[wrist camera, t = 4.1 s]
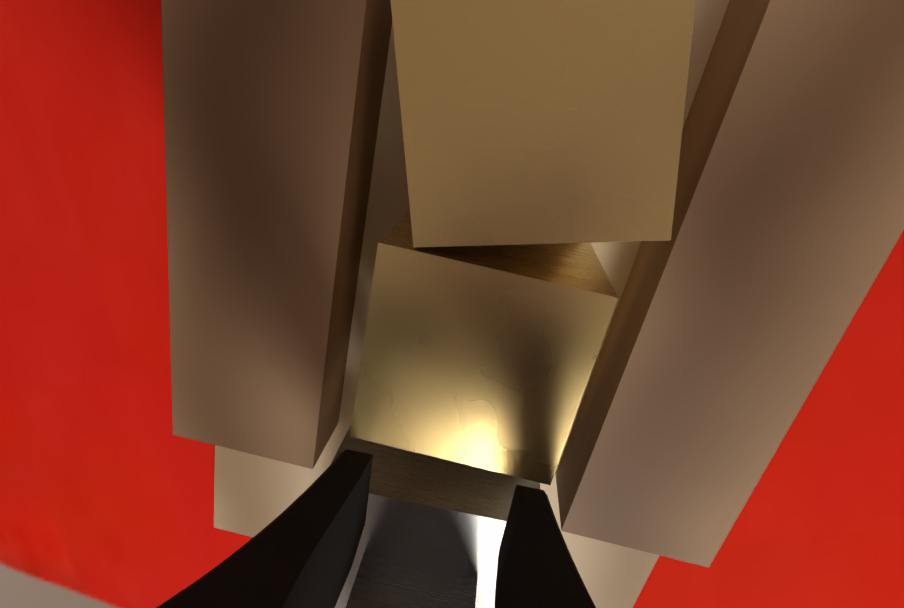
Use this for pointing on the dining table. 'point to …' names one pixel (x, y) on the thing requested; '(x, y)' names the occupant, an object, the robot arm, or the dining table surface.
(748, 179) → the slot board
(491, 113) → the golden brown cube
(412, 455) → the brushed metal block
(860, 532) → the dining table surface
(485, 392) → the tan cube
